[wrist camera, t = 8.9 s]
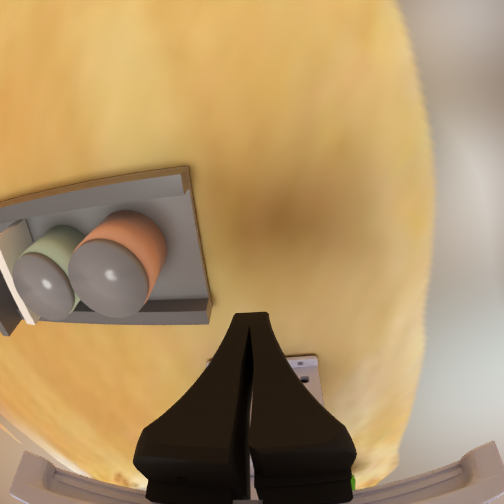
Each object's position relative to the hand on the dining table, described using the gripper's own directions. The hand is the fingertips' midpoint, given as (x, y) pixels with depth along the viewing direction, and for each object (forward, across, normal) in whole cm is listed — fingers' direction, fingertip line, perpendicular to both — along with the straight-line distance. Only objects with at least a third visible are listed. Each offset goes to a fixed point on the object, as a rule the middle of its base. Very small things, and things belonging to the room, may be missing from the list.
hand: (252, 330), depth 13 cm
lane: (+8, +13, 0) cm, 15 cm away
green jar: (+8, +14, 0) cm, 16 cm away
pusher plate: (+8, +17, 0) cm, 19 cm away
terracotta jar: (+8, +8, 0) cm, 11 cm away
